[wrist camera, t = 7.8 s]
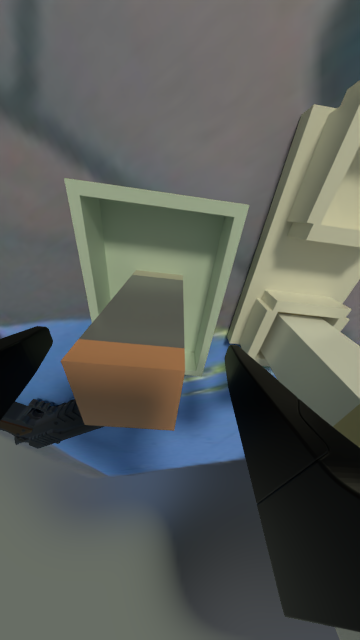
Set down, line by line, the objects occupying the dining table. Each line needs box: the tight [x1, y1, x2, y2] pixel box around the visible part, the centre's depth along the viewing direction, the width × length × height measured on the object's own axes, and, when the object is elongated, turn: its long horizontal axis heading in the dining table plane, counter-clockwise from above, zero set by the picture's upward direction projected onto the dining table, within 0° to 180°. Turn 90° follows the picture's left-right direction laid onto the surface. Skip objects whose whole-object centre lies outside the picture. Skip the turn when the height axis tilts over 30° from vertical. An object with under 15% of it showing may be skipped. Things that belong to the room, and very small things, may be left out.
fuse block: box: [227, 81, 360, 367], centre depth 12 cm, size 16×8×3 cm, turn 173°
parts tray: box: [64, 178, 249, 376], centre depth 13 cm, size 13×9×3 cm
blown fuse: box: [61, 270, 185, 431], centre depth 10 cm, size 4×4×9 cm
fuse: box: [260, 312, 360, 448], centre depth 11 cm, size 4×4×9 cm
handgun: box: [0, 399, 104, 448], centre depth 22 cm, size 3×20×15 cm
